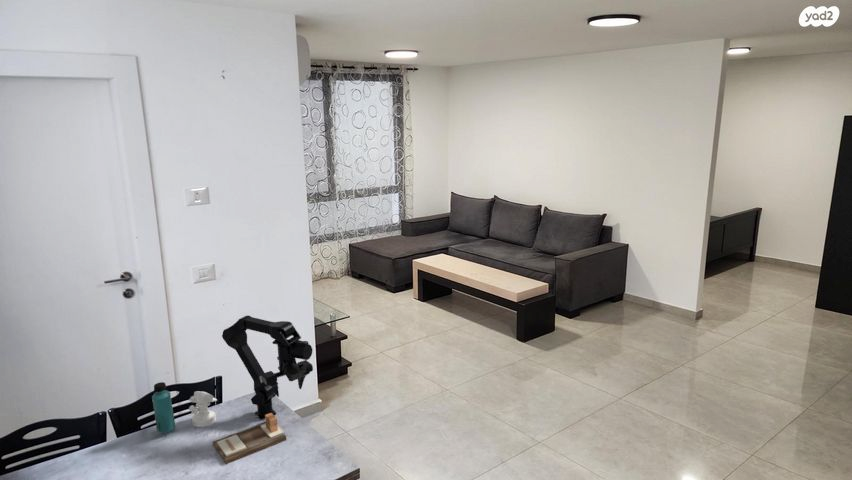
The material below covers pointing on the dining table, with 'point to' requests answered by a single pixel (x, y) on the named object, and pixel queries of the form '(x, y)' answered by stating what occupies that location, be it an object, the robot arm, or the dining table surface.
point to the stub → (271, 426)
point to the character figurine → (202, 409)
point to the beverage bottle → (163, 408)
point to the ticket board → (245, 443)
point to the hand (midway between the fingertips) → (289, 392)
